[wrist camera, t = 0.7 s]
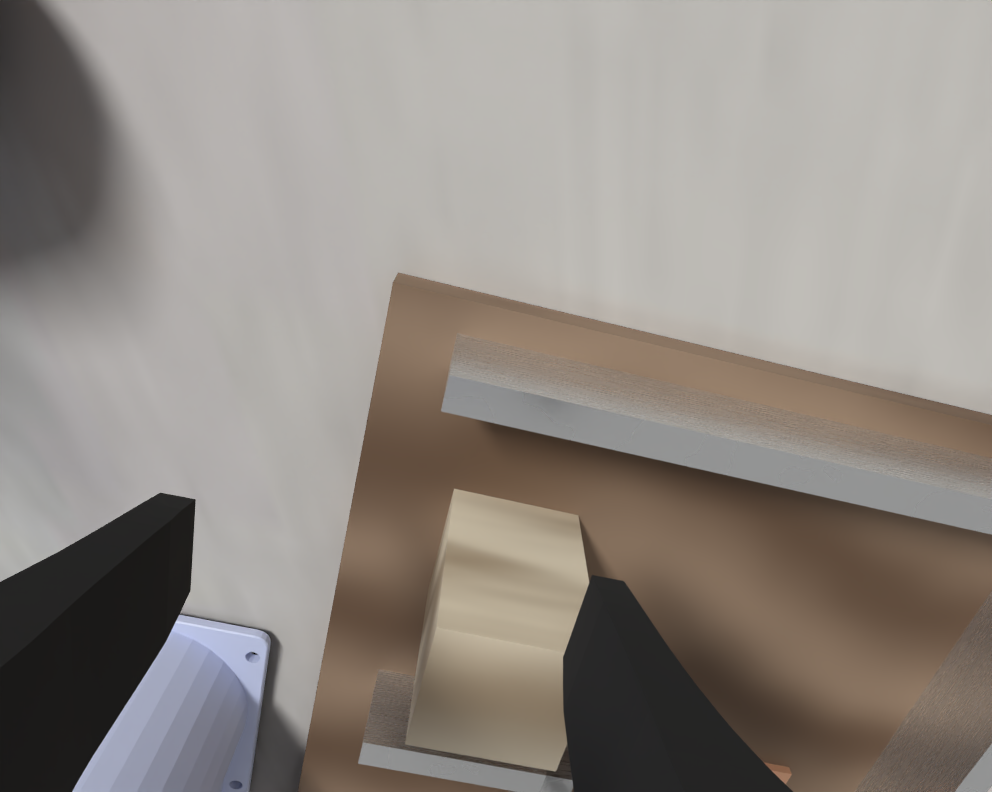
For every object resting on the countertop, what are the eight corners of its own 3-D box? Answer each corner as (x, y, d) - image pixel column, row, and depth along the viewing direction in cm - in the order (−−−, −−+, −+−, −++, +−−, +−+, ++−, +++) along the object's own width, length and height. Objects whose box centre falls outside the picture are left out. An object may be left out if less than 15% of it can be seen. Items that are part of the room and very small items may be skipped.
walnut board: (813, 901, 32) (822, 925, 31) (296, 813, 30) (289, 836, 29) (1137, 450, 22) (1163, 466, 21) (398, 272, 20) (393, 282, 19)
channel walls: (810, 893, 30) (840, 975, 27) (344, 813, 28) (327, 892, 26) (1099, 483, 21) (1186, 543, 19) (457, 333, 20) (449, 374, 17)
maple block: (544, 611, 24) (555, 771, 18) (428, 588, 23) (405, 744, 18) (578, 515, 22) (601, 659, 17) (454, 488, 22) (436, 627, 16)
